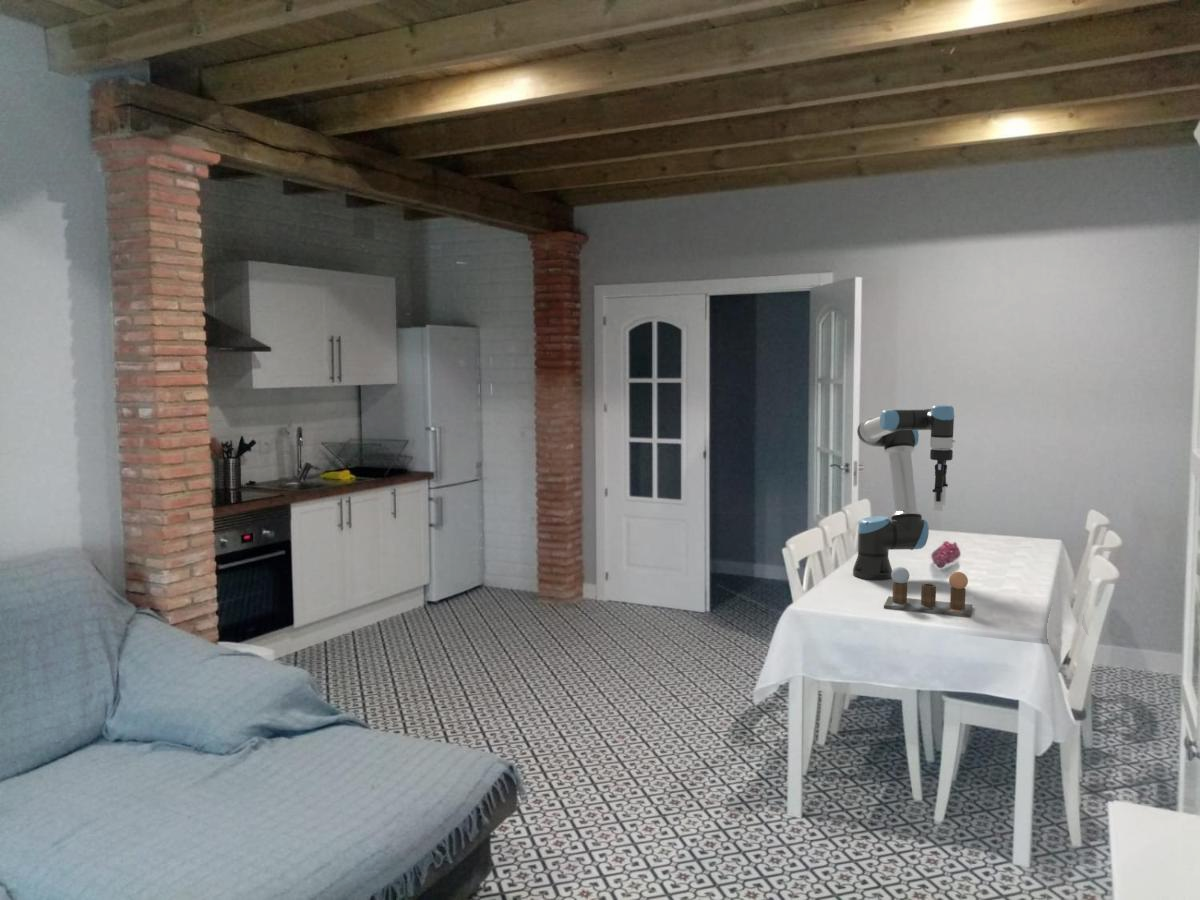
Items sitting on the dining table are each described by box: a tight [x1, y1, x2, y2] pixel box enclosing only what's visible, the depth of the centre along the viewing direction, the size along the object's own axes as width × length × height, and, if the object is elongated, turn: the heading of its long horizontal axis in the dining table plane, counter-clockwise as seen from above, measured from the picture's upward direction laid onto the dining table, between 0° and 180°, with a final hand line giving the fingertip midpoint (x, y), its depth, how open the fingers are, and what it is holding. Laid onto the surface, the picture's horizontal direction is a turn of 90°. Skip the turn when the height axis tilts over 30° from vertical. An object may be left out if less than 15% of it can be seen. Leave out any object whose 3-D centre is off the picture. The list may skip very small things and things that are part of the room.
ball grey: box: [891, 566, 910, 584], centre depth 321 cm, size 6×6×6 cm
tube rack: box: [883, 581, 973, 618], centre depth 318 cm, size 28×13×8 cm, turn 65°
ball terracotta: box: [948, 571, 969, 589], centre depth 313 cm, size 6×6×6 cm
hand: (939, 507), depth 329 cm, fingers open, 13 cm apart
